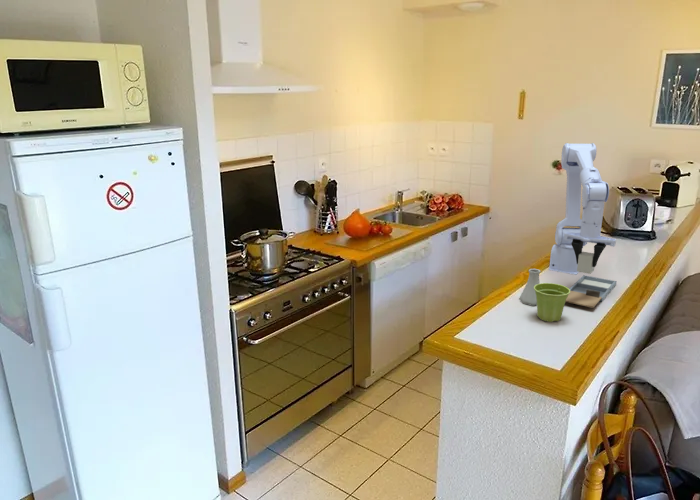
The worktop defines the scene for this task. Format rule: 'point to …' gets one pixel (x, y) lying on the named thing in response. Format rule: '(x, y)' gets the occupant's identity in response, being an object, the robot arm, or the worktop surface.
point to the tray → (594, 285)
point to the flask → (530, 288)
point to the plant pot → (550, 300)
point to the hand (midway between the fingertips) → (586, 264)
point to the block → (585, 262)
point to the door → (584, 298)
